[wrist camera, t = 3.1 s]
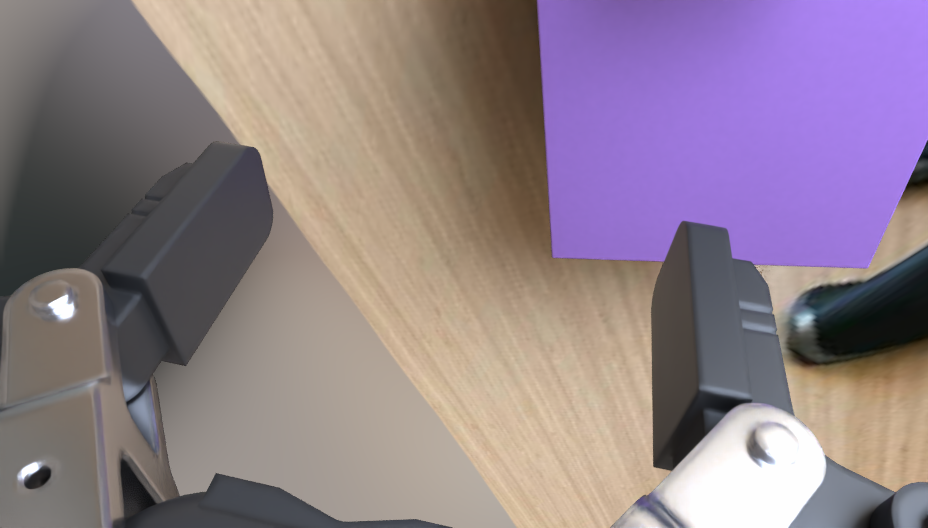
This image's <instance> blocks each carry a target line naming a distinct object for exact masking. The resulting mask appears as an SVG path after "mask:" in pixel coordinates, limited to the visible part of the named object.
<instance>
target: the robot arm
mask: <svg viewBox="0 0 928 528" xmlns="http://www.w3.org/2000/svg"><path fill="white" fill-rule="evenodd" d="M272 222H273V209H272V204H271V199H270V195H269V191H268V186H267V182H266V178H265V173H264V169H263V165H262V160H261V157H260V154H259V152H258V150H257V149H256V148H254V147H249V146H243V145H237V144H231V143H225V142H219V141H216V142H213V143H211V144H210V145H209V146H208V147H207V148H206V149H205V151H204V152H203V153H202V154H201V155H200V156H199V157H198V159H197V160H196V161H195V162H194V163H193V164H192V163H185V164H183V165H181V166H180V167H178V168H176V169H174V170H173V171H171V172H169V173H168V174H166V175H164V176H162V177H161V178H160V179H159V180H158V181H157V183H156V184H155V185H154V186H153V187H152V188H151V189H150V190H149V191H148V192H147V193H146V195H145V199H141V200H140V201H139V202H138V203H137V204H136V206H135V207H134V208H133V209H132V213H131V214H127V215H126V216H125V218H124V219H123V220H122V221H121V222H120V223H119V224H118V225H117V226H116V227H115V228H114V229H113V231H112V232H111V233H110V234H109V235H108V236H107V237H106V238H105V240H103V242H102V243H101V244H100V245H99V246H98V247H97V248H96V249H95V250H94V251H93V252H92V254H91V255H90V256H89V257H88V258H87V259H86V260H85V261H84V262H83V263H82V265H81V266H80V267H79V268H78V269H73V268H69V269H61V270H55V271H51V272H48V273H45V274H42V275H40V276H37V277H35V278H33V279H32V280H30V281H28V282H27V283H25V284H24V285H22V286H21V287H20V288H19V289H17V290H16V291H15V292H14V293H13V294H12V295H11V296H4V297H0V528H452V527H447V526H443V525H439V524H434V523H430V522H426V521H421V520H417V519H411V520H410V519H409V520H386V521H385V520H383V521H358V522H342V521H338V520H336V519H334V518H332V517H330V516H328V515H327V514H325V513H323V512H321V511H320V510H318V509H316V508H314V507H313V506H311V505H308V504H307V503H305V502H304V501H302V500H300V499H298V498H297V497H295V496H293V495H291V494H290V493H288V492H286V491H284V490H282V489H280V488H278V487H274V486H269V485H265V484H261V483H256V482H252V481H248V480H243V479H239V478H235V477H230V476H226V475H222V474H217V473H216V474H215V476H214V478H213V480H212V482H211V484H210V486H209V488H208V490H207V492H200V493H194V494H188V495H183V496H179V492H178V489H177V486H176V484H175V482H174V480H173V476H172V473H171V470H170V466H169V461H168V454H167V448H166V441H165V435H164V428H163V422H162V416H161V409H160V404H159V403H160V402H159V396H158V389H157V383H156V380H155V377H154V376H153V373H154V371H155V370H156V368H157V367H158V365H159V364H160V363H161V361H165V362H169V363H174V364H179V365H184V366H186V365H187V363H188V362H189V360H190V359H191V357H192V355H193V354H194V353H195V351H196V349H197V348H198V346H199V345H200V343H201V342H202V340H203V338H204V337H205V335H206V334H207V332H208V331H209V329H210V327H211V326H212V324H213V323H214V321H215V320H216V318H217V316H218V315H219V313H220V312H221V310H222V309H223V307H224V306H225V304H226V302H227V301H228V299H229V298H230V296H231V295H232V293H233V292H234V290H235V288H236V287H237V285H238V284H239V282H240V280H241V279H242V277H243V276H244V274H245V273H246V271H247V270H248V268H249V266H250V265H251V263H252V262H253V260H254V259H255V257H256V255H257V254H258V252H259V251H260V249H261V248H262V246H263V245H264V243H265V241H266V240H267V238H268V236H269V234H270V231H271V227H272ZM772 311H773V308H772V302H771V297H770V292H769V287H768V284H767V283H766V282H765V280H764V279H763V277H762V276H761V274H760V273H759V272H758V270H757V269H756V267H755V266H754V264H753V263H752V262H751V261H745V260H740V259H734V258H732V252H731V246H730V239H729V233H728V230H727V229H726V228H725V227H719V226H713V225H707V224H701V223H695V222H689V221H682V222H681V223H680V225H679V226H678V229H677V231H676V233H675V236H674V238H673V241H672V243H671V246H670V248H669V251H668V253H667V256H666V258H665V261H664V263H663V265H662V268H661V270H660V273H659V275H658V278H657V281H656V284H655V288H654V292H653V298H652V307H651V326H652V400H653V467H656V468H661V469H666V470H671V471H672V472H671V473H670V474H669V475H668V476H667V477H666V478H665V479H664V480H663V481H662V482H661V483H660V484H659V485H658V486H657V487H656V488H655V489H654V490H653V491H652V492H651V493H650V494H649V495H647V496H646V495H644V496H642V497H641V498H640V499H638V500H637V501H636V502H635V503H634V504H633V505H632V506H631V507H630V508H629V509H628V510H627V511H626V512H625V513H624V514H623V515H622V516H621V517H620V518H619V519H618V520H617V521H616V522H615V523H614V524H613V525H612V526H611V527H610V528H928V482H917V483H911V484H908V485H906V486H904V487H902V488H901V489H900V490H898V491H897V492H894V491H891V490H889V489H887V488H885V487H883V486H881V485H879V484H877V483H875V482H873V481H871V480H869V479H867V478H865V477H863V476H861V475H859V474H857V473H855V472H853V471H851V470H848V469H846V468H845V467H843V466H841V465H839V464H837V463H836V462H834V461H833V460H831V459H830V458H828V457H827V456H826V455H824V452H823V450H822V447H821V445H820V443H819V442H818V440H817V438H816V437H815V436H814V434H813V433H812V432H811V430H810V429H809V428H808V427H807V426H806V425H805V424H804V423H802V422H801V421H800V420H799V419H798V418H796V417H795V415H794V412H793V408H792V403H791V398H790V393H789V388H788V383H787V378H786V373H785V368H784V363H783V358H782V353H781V348H780V343H779V338H778V335H776V331H777V328H776V323H775V318H774V315H773V314H772Z"/></svg>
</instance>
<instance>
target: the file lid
mask: <svg viewBox="0 0 928 528" xmlns="http://www.w3.org/2000/svg"><path fill="white" fill-rule="evenodd" d="M537 13H538V30H539V47H540V64H541V81H542V98H543V114H544V131H545V148H546V165H547V182H548V199H549V216H550V232H551V249H552V258H570V259H600V260H630V261H660V262H664V261H665V258H666V256H667V253H668V251H669V248H670V246H671V243H672V241H673V238H674V236H675V233H676V231H677V229H678V226H679V225H680V223H681V222H682V221H689V222H695V223H701V224H707V225H713V226H719V227H725V228H726V229H727V230H728V233H729V239H730V246H731V252H732V258H734V259H740V260H745V261H751V262H752V263H753V264H754V265H780V266H810V267H840V268H868V267H869V265H870V263H871V260H872V258H873V256H874V254H875V252H876V250H877V247H878V245H879V243H880V241H881V239H882V237H883V234H884V232H885V230H886V228H887V226H888V224H889V222H890V219H891V217H892V215H893V213H894V211H895V209H896V206H897V204H898V202H899V200H900V198H901V196H902V194H903V191H904V189H905V187H906V185H907V183H908V181H909V178H910V176H911V174H912V172H913V170H914V168H915V165H916V163H917V161H918V159H919V157H920V155H921V153H922V150H923V148H924V146H925V144H926V142H927V140H928V0H537Z"/></svg>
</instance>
